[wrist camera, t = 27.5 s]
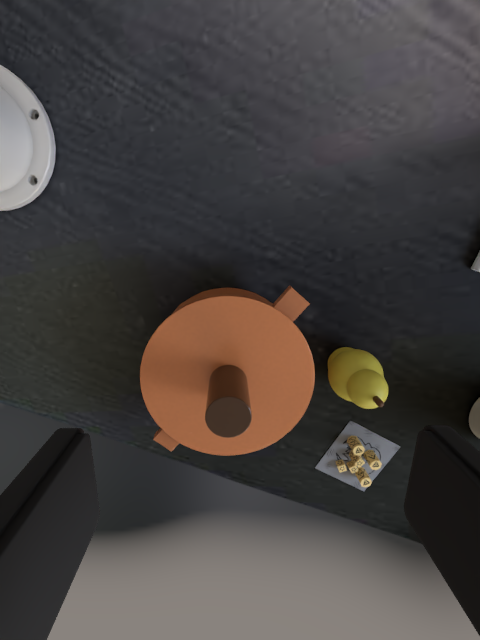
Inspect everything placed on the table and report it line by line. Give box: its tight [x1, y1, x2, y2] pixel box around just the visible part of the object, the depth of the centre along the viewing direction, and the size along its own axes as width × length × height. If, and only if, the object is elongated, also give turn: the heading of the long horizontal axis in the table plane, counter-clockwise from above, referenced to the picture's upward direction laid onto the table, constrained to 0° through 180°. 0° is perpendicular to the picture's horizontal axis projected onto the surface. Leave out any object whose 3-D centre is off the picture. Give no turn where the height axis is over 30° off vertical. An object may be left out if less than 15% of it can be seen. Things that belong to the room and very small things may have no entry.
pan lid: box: [140, 295, 315, 455], centre depth 28 cm, size 17×17×7 cm
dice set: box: [335, 435, 383, 488], centre depth 40 cm, size 5×5×2 cm
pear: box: [327, 347, 388, 409], centre depth 32 cm, size 6×6×9 cm
